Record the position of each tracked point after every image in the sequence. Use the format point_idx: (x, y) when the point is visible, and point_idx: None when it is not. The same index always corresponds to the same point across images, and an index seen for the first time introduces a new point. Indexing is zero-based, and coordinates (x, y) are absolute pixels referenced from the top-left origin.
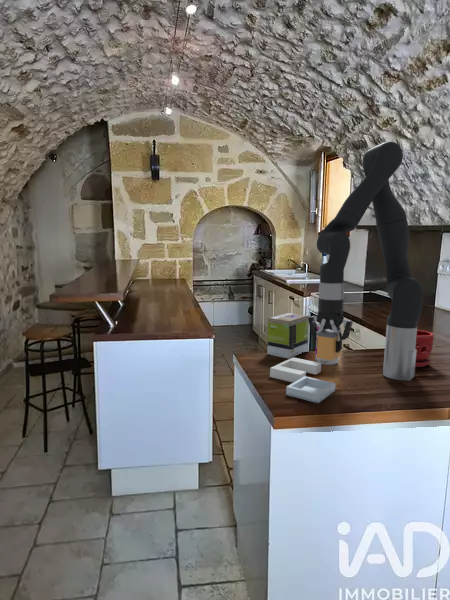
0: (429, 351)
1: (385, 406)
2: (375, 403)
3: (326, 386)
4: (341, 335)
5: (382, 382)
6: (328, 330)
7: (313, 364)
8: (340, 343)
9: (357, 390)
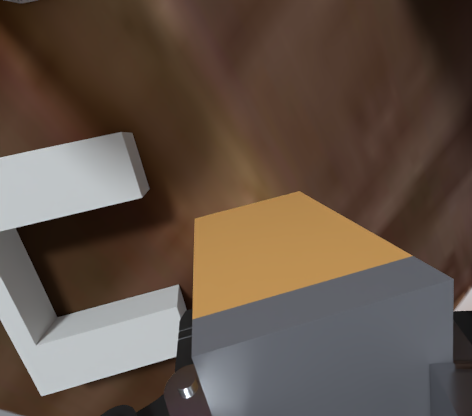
0: None
1: (467, 258)
2: (440, 261)
3: None
4: (459, 343)
5: (395, 39)
6: (289, 409)
7: (115, 191)
8: None
9: (360, 211)
